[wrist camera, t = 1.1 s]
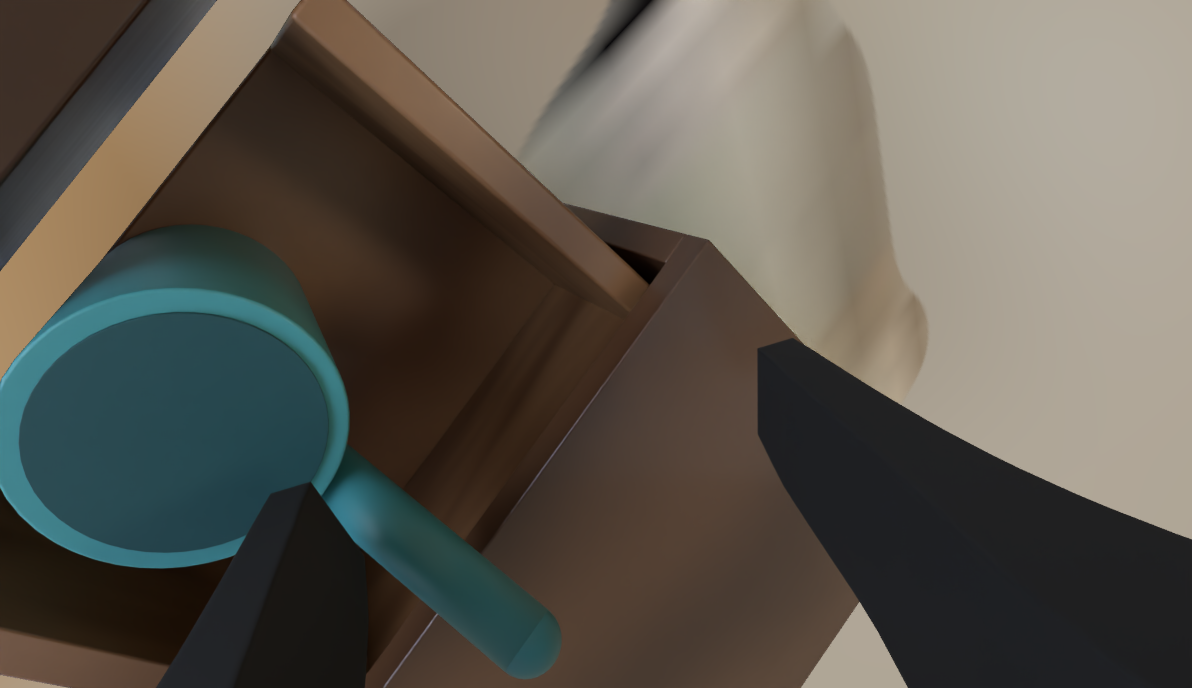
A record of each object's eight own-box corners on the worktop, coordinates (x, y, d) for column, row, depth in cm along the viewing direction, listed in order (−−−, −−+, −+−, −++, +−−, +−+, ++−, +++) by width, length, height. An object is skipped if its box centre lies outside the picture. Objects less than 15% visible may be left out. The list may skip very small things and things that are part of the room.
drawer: (-548, 305, 11) (-1423, 519, 5) (-32, -299, 11) (-286, -709, 6) (331, 594, 20) (373, 782, 14) (583, 253, 21) (717, 304, 15)
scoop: (29, 351, 14) (-240, 669, 6) (163, 181, 14) (80, 264, 6) (375, 503, 18) (485, 787, 11) (470, 376, 19) (645, 561, 11)
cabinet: (258, 573, 19) (277, 834, 12) (540, 196, 20) (709, 239, 13) (560, 671, 27) (678, 868, 20) (755, 395, 28) (936, 489, 21)
